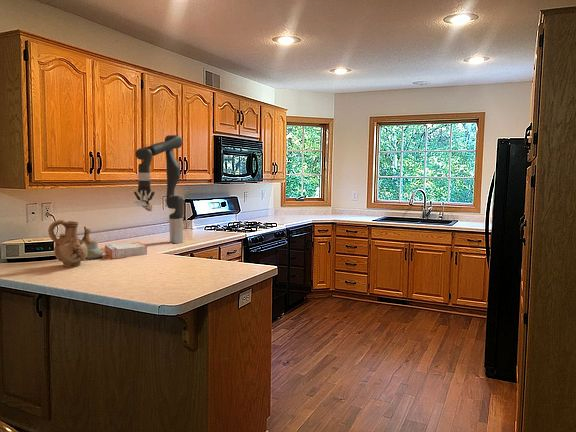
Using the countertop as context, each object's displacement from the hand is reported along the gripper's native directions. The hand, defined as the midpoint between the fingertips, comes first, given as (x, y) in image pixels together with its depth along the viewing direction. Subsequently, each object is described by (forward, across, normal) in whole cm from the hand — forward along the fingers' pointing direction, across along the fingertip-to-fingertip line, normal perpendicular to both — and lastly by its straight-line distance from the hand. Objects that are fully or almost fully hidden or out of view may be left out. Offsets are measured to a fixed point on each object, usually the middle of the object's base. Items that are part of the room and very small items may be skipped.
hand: (144, 206), depth 304 cm
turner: (0, 0, 0) cm, 0 cm away
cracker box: (+25, -4, +16) cm, 30 cm away
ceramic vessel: (+29, +20, +54) cm, 65 cm away
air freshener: (+29, +20, +32) cm, 48 cm away
